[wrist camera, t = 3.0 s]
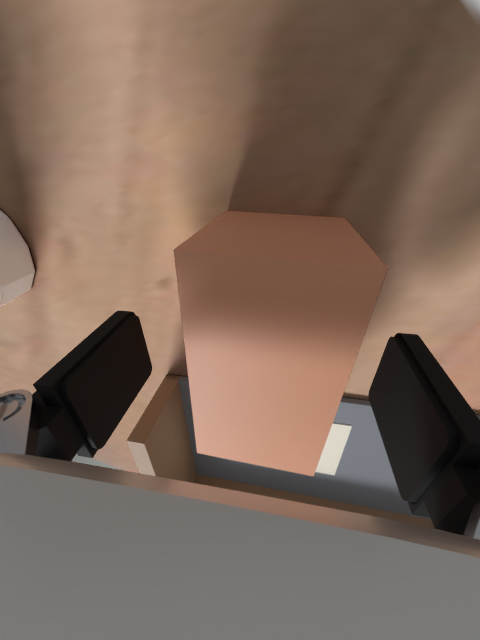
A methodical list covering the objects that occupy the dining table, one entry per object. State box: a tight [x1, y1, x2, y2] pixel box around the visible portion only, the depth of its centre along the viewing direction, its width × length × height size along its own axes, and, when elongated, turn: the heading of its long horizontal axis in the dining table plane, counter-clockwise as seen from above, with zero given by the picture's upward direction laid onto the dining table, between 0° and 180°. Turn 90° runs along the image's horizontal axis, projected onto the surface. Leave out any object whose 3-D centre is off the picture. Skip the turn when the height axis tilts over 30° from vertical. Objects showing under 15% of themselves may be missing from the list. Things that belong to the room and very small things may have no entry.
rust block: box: [174, 211, 388, 476], centre depth 11 cm, size 5×9×6 cm, turn 178°
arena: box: [127, 374, 480, 529], centre depth 17 cm, size 22×13×5 cm, turn 90°
